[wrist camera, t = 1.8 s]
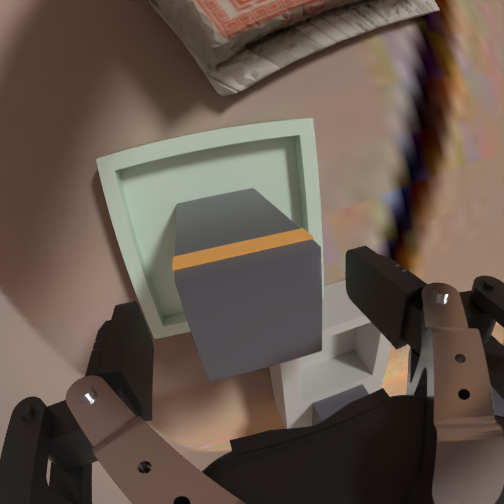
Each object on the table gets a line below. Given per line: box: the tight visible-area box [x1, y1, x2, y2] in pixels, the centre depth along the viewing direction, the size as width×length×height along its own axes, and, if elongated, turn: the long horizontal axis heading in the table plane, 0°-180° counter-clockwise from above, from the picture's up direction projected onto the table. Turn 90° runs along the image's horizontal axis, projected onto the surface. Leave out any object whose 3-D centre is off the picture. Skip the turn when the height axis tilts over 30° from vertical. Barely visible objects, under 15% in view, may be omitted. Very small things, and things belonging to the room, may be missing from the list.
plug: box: [172, 188, 322, 381], centre depth 12 cm, size 4×4×8 cm
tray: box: [96, 118, 324, 339], centre depth 16 cm, size 11×11×2 cm
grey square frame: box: [269, 280, 392, 429], centre depth 18 cm, size 11×8×9 cm
